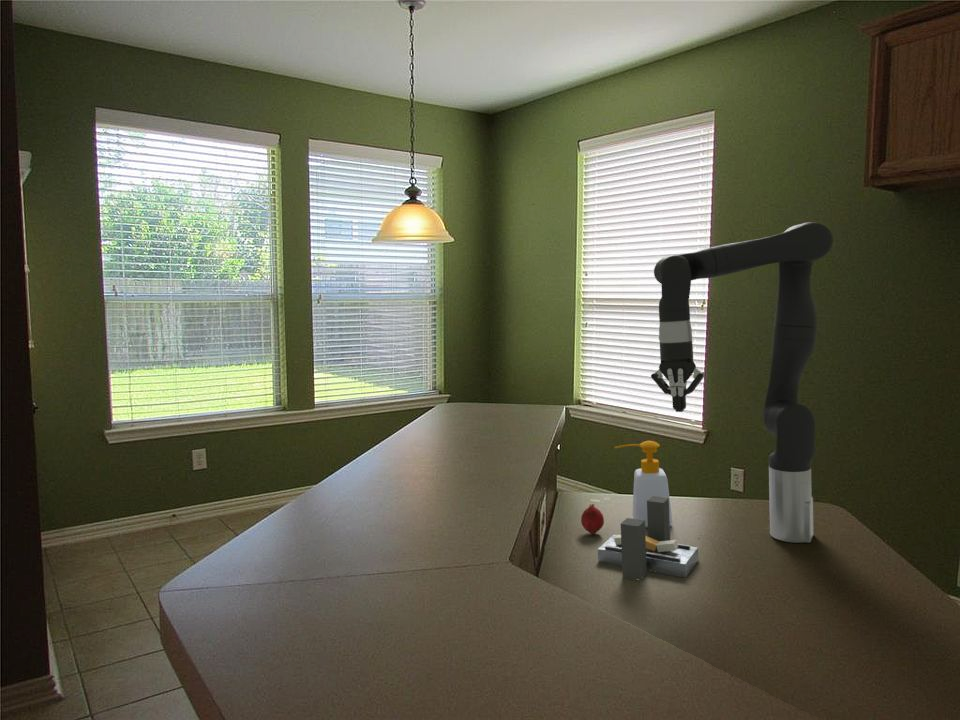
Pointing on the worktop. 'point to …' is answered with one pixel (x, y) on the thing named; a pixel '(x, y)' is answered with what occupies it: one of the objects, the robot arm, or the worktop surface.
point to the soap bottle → (648, 482)
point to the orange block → (651, 543)
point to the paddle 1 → (618, 540)
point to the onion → (592, 519)
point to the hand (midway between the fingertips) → (679, 411)
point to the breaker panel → (654, 558)
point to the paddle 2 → (667, 545)
